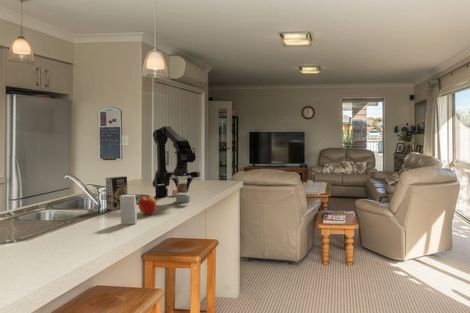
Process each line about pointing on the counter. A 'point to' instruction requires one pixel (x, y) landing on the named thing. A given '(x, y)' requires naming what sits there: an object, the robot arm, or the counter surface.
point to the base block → (183, 198)
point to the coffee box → (115, 191)
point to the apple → (147, 205)
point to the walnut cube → (182, 188)
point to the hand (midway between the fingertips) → (183, 190)
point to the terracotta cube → (174, 192)
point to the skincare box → (128, 209)
